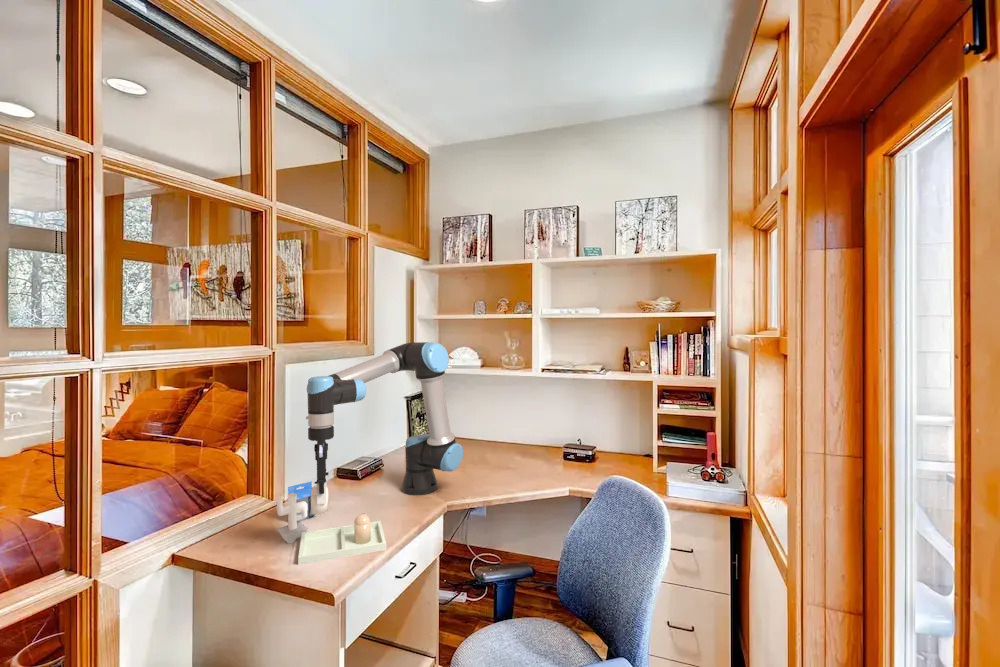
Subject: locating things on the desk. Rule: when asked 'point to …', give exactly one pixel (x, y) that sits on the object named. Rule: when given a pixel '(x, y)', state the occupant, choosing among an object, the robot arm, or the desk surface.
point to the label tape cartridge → (303, 498)
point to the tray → (338, 543)
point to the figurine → (292, 518)
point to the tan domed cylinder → (362, 529)
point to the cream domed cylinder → (317, 507)
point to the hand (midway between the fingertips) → (321, 500)
